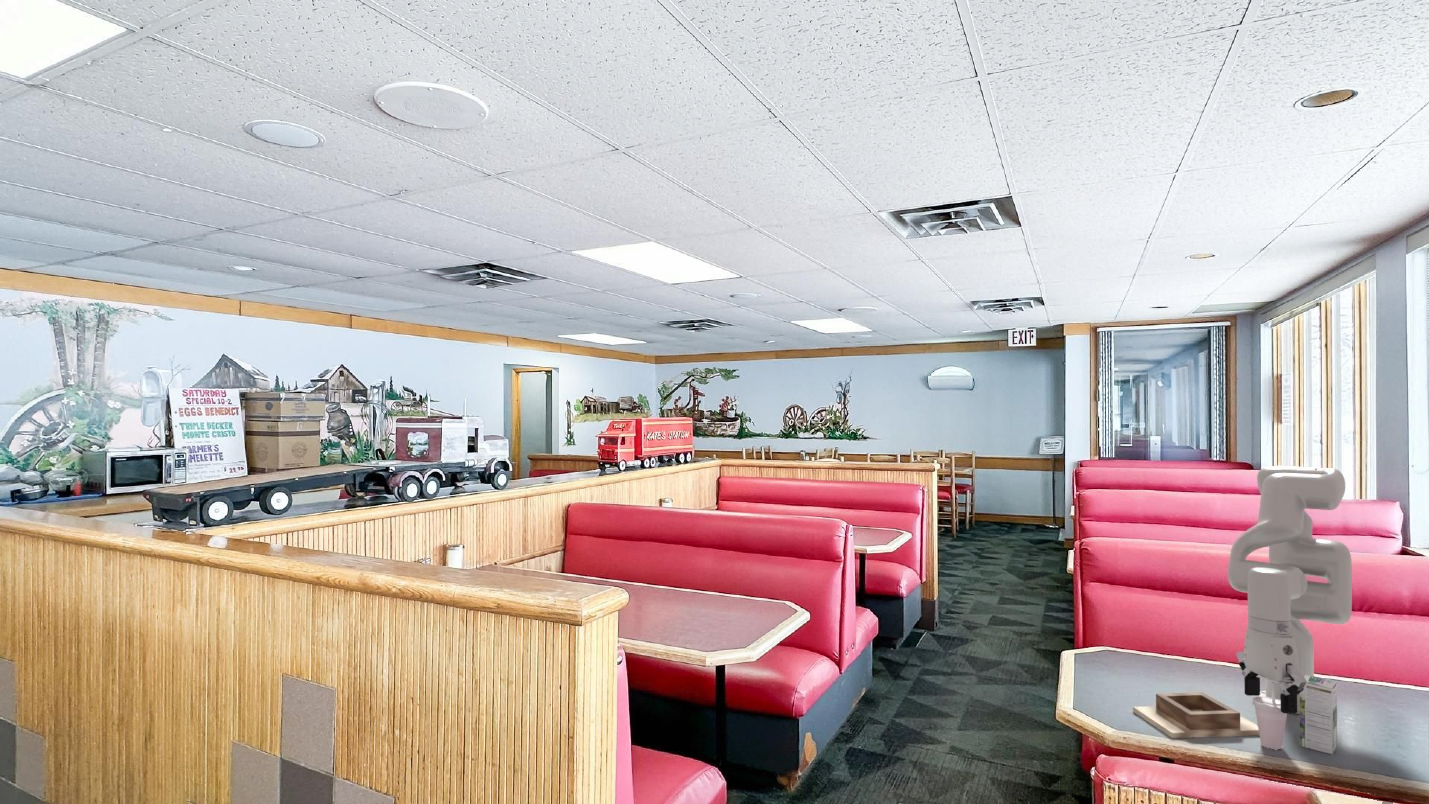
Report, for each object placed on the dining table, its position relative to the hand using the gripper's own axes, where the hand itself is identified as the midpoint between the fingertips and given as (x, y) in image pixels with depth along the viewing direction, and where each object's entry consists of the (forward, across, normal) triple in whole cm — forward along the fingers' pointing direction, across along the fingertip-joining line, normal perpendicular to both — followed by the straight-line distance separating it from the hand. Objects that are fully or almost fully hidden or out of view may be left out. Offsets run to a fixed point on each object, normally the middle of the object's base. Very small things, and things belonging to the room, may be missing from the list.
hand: (1270, 703), depth 156 cm
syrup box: (+10, 0, -11) cm, 14 cm away
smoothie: (+10, +1, -1) cm, 10 cm away
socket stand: (+10, +13, +7) cm, 17 cm away
